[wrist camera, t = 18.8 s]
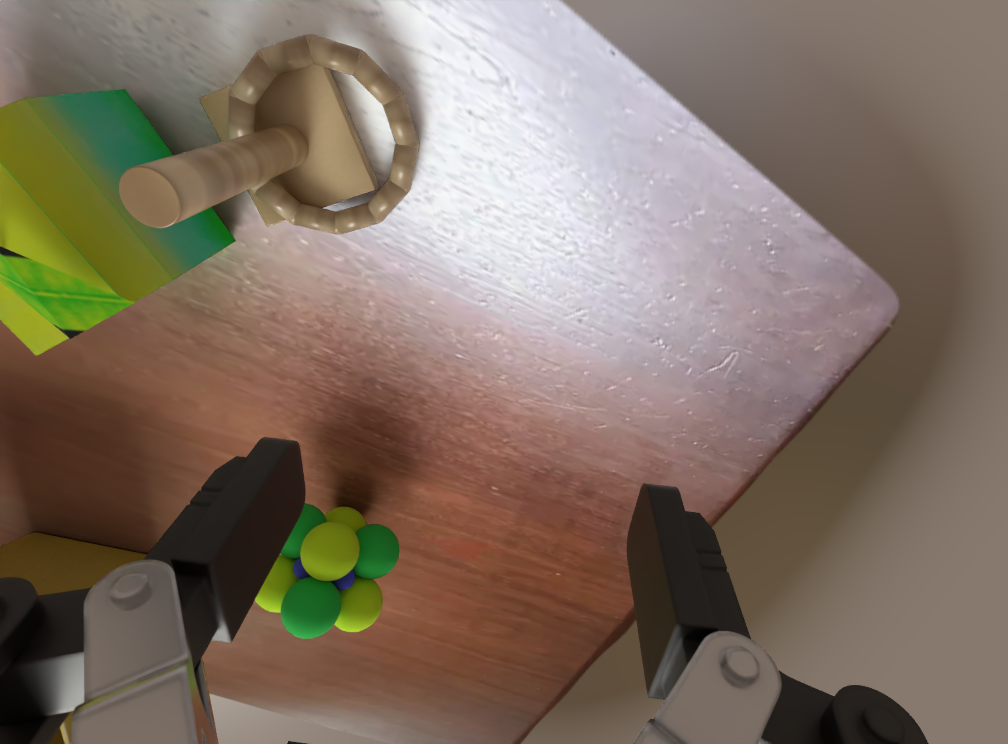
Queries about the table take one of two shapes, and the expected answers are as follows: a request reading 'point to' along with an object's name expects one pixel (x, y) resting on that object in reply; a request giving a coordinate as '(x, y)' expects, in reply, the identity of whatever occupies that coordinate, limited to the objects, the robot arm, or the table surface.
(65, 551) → the flower pot
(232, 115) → the ring
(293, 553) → the molecule model
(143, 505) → the table surface
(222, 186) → the post
